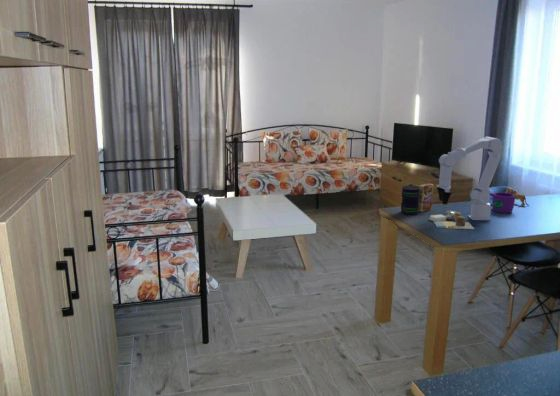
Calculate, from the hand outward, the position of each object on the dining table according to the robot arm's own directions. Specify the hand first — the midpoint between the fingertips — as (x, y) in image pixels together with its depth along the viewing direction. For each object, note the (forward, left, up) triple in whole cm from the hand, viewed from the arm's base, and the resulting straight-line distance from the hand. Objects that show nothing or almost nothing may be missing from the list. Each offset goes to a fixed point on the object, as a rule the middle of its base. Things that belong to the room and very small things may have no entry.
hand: (443, 202), depth 250 cm
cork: (-8, +1, -10) cm, 13 cm away
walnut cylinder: (-7, +9, -10) cm, 15 cm away
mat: (-4, +9, -10) cm, 14 cm away
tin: (-6, -4, -10) cm, 12 cm away
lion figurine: (-51, -38, -10) cm, 65 cm away
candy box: (+6, -19, -10) cm, 22 cm away
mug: (-36, -23, -10) cm, 44 cm away
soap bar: (+2, 0, -10) cm, 11 cm away
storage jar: (+15, -12, -10) cm, 22 cm away
